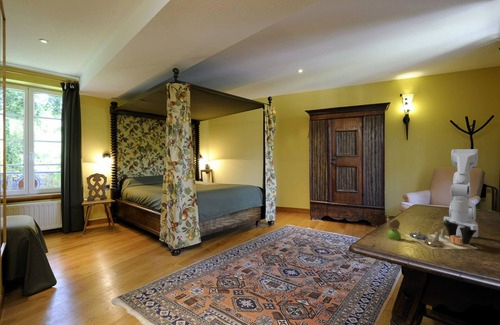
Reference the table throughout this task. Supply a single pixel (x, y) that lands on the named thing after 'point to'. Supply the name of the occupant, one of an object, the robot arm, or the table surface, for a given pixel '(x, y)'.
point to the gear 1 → (419, 236)
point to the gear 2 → (431, 243)
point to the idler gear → (456, 239)
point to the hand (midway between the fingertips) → (458, 241)
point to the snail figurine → (393, 229)
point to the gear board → (442, 239)
